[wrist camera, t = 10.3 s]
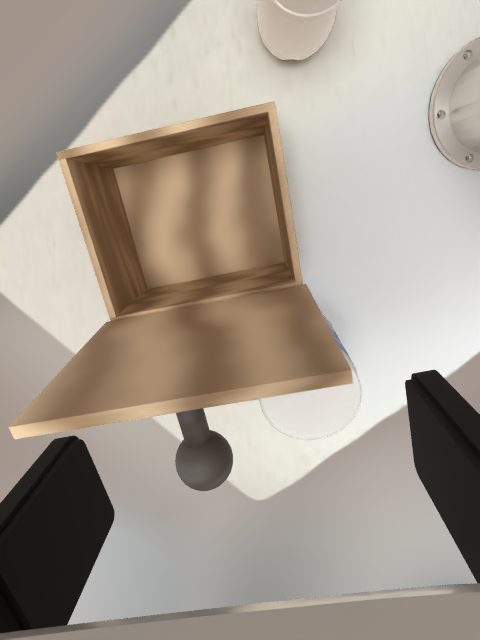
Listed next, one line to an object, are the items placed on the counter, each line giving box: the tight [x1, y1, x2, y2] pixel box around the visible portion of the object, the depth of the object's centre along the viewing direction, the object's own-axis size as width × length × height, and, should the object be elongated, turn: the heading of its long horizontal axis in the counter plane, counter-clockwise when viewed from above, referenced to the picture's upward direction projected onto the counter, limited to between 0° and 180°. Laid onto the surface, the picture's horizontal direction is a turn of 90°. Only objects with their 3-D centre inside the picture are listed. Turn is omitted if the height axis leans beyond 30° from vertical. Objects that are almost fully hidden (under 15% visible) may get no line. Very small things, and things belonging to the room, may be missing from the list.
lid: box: [9, 284, 353, 491], centre depth 28 cm, size 18×15×8 cm
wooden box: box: [57, 101, 303, 321], centre depth 38 cm, size 18×15×12 cm
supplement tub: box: [259, 315, 361, 440], centre depth 41 cm, size 10×10×15 cm
